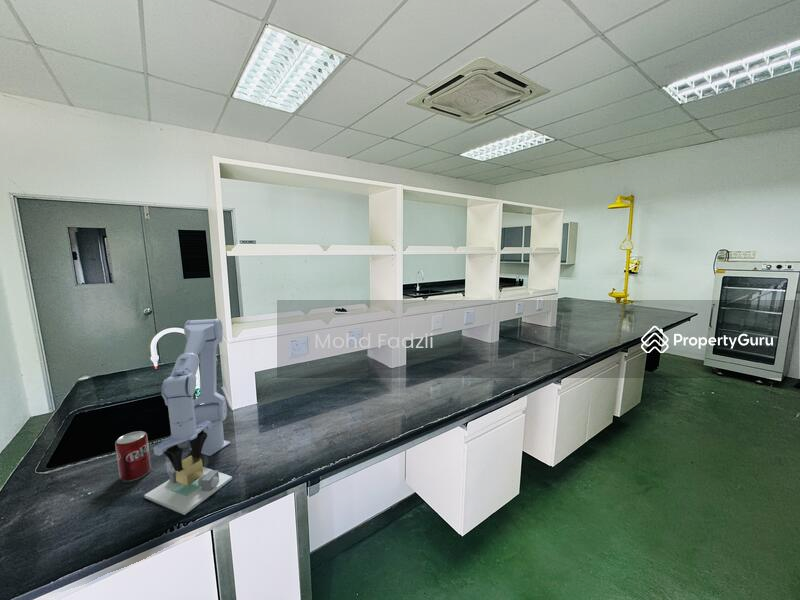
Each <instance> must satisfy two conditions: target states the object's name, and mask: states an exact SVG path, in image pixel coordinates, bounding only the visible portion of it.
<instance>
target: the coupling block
mask: <svg viewBox="0 0 800 600" xmlns="http://www.w3.org/2000/svg"><path fill="white" fill-rule="evenodd" d="M203 467H204V466H203V459H202V458H201V457H200V458H197V457H194V456H192V455H189V456H188V457H185V458H184V459H182V471H180V472H178V471H176V470H175V472H176V481H177V482H179V483H182V484H184V485H187V486H188V485H190V484H191V483H193V482H194V481H196V480H197V479H199V478H200V477H201V476H202V475H203Z"/></svg>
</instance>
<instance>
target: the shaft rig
mask: <svg viewBox="0 0 800 600" xmlns="http://www.w3.org/2000/svg"><path fill="white" fill-rule="evenodd" d="M168 476H169V479H168V480H166V481H165V482H163V483H162V484H160V485H158V486H157V487H155V488H153V489H152V490H150V491H148V492H147V493H145V494H144V495H143V496H144V499H147V500H149V501H151V502H153V503H156V504H158V505H161V506H163V507H165V508H168V509H169V510H172V511H174V512H176V513H178V514H181V515H184V516H185V515H187V513H189V512H191V511H192V510H193V509H194V508H196V507H197V506H199V505H200V504H202V503H203V502H204V501H206V500H207V499H208V498H210V496H212V495H213V494H215V493H216V492H217V491H218V490H220V489H221V488H223V486H225V485H227V484H228V483H229V482H230V481H232V480H233V476H231V475H229V474H226V473H223V472H220V471H219V470H213V469H211V468H208V467H205V466H203V475H202V476H201V477H200V478H199V479H197V480H196V481H194V482H193V483H191V484H190V485H188V486H187V485H184V484H182V483H179V482H177V481H176V472H175V470H174V467H172V468H170V469H168Z"/></svg>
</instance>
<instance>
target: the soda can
mask: <svg viewBox="0 0 800 600" xmlns="http://www.w3.org/2000/svg"><path fill="white" fill-rule="evenodd" d="M114 446H115V455H116V460H117V461H116V462H117V467H118V468H117V469H118V474H119V479H120V480H121V481H122V482H125V483H126V482H127V483H129V482H133V481H134V482H135V481H137V480H139V479H142V478H143V477H145V476H146V475H147V474H149V472H150V471H151V470H152V464H151V456H150V455H151V454H150V449H149V440H148V433H147V432H146V431H142V430H139V431H137V430H136V431H132V432H129V433H126V434H123V435H122V436H120V437H119V438H117V440H116V441H115V443H114Z"/></svg>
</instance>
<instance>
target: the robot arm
mask: <svg viewBox="0 0 800 600" xmlns="http://www.w3.org/2000/svg"><path fill="white" fill-rule="evenodd" d="M183 325H184V326H183V327H184V328H183V333H184V336H185V339H186V343H185V347H184V349H183V350H184V351H183V353H181V354H180V355H178V357H177V359H176V361H175V364H174V366H173V368H172V370H171V373H170V376H168V377H167V378H165V379H164V380H163V381H162V384H161V396H162V398H163V400H164V404H165V407H166V406H167V408H168V418H169V419H168V420H169V425H170V427H169V428H170V436H168V437H166V438H165V439H164V440H162V442H159V444H157V445H155V446H153V454H154V455H155V456H158V457H159V456H161V455H163V454H164V455H165V456H166V457H167V459H168V460H169V461H170V462H171V465H172V466H173V467H172V468H174V470H176V471H178V472H180V471H182V460H183V458H182V455H183V450H184V449H183V448H181V447H179V446H178V445H179V444H181V443H185V442H188V441H189V445H190V452H191V456H194V457H197V458H200V459H201V457H202V456H201V455H205V456H208V457H210V456H212V455H214V454H216V453H217V452H218V451H220V450H222V449H224V448H225V447H227V446H228V445H230V444H231V442H230V441H228V440H225V438H224V437H225V436H224V426H223V424H224V423H223V421H225V419H226V418H227V413H228V407H227V400H226V399H227V398H226V397H225V396H224V395H222V394H220V393H219V392H217V349H218V345H219V344H221V343H222V342H223V324H222V320H221V319H220V318H212V319H193V320H192V319H188V320H187V321H186V322H185V323H184V324H183ZM199 355H200V356H199ZM199 357H200V358H199ZM198 370H200V371H199V373H200V374H199V376H200V377H199V378H200V379H199V387H200V388H199V396H197V397H196V398H195V399H194V395H195V392H196V386H197V376H196V375H197V373H198Z"/></svg>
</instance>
